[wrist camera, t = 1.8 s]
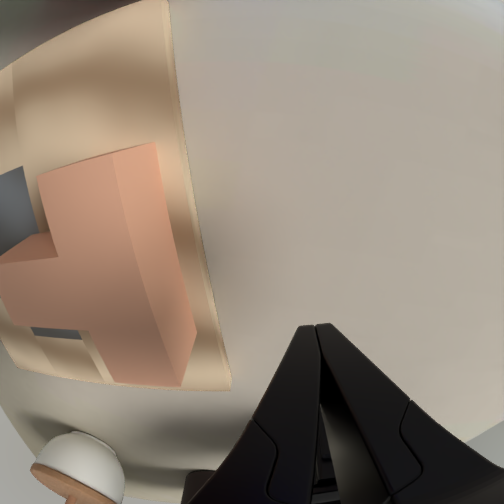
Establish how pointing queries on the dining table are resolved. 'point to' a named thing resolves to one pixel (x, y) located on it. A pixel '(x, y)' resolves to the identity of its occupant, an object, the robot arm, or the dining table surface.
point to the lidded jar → (80, 469)
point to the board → (93, 144)
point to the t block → (107, 267)
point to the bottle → (194, 484)
